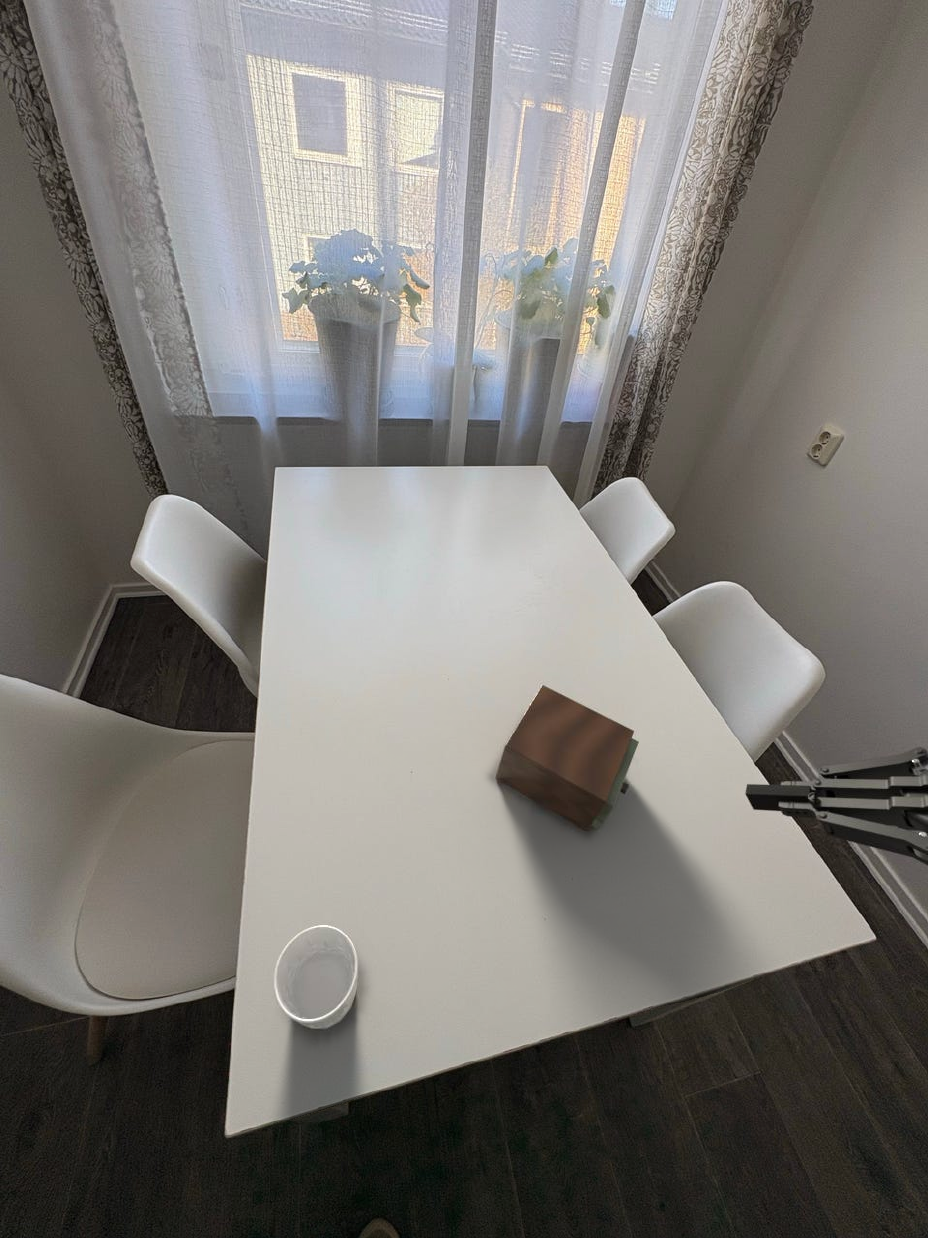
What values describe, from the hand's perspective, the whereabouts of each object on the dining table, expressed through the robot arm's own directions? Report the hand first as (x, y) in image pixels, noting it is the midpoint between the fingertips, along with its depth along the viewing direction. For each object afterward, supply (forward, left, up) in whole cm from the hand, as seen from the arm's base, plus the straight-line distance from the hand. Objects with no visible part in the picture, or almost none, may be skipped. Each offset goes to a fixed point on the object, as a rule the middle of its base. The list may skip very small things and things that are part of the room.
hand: (750, 797), depth 61 cm
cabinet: (-7, +20, -16) cm, 27 cm away
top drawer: (-6, +18, -15) cm, 24 cm away
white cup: (-48, +18, -16) cm, 54 cm away
